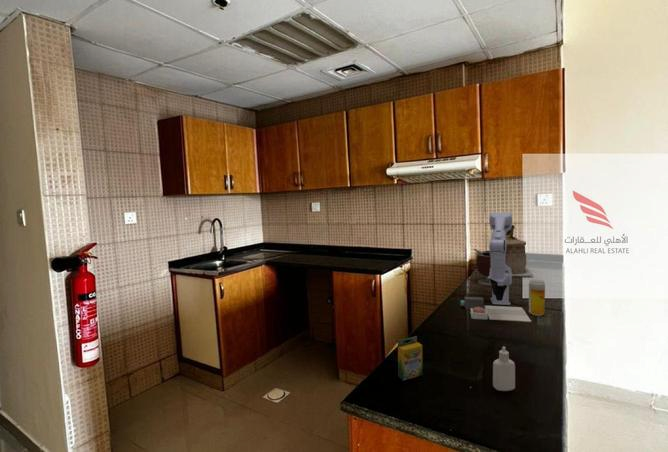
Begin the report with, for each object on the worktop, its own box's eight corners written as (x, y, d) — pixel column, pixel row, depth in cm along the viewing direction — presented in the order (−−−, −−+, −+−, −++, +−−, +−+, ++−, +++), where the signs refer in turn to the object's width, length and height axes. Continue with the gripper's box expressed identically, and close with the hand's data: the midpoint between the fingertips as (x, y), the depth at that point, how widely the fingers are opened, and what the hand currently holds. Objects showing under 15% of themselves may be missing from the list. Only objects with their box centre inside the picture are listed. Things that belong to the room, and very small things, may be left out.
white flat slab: (484, 306, 168) (484, 305, 168) (521, 307, 164) (521, 307, 164) (489, 319, 151) (489, 318, 151) (531, 321, 147) (531, 321, 147)
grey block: (460, 306, 170) (460, 296, 169) (482, 307, 167) (482, 297, 166) (460, 309, 166) (460, 298, 166) (483, 310, 163) (483, 299, 163)
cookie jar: (526, 269, 238) (527, 222, 235) (534, 278, 215) (535, 226, 212) (487, 268, 246) (487, 222, 243) (490, 276, 223) (490, 226, 220)
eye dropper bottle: (493, 382, 103) (493, 342, 102) (514, 385, 101) (514, 345, 99) (492, 389, 99) (492, 348, 98) (515, 394, 97) (515, 352, 95)
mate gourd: (503, 280, 211) (503, 248, 210) (500, 286, 200) (500, 251, 198) (476, 278, 220) (475, 246, 218) (471, 283, 208) (471, 250, 206)
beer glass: (546, 316, 152) (547, 282, 150) (531, 316, 153) (531, 282, 151) (541, 311, 158) (541, 279, 156) (526, 311, 159) (526, 279, 157)
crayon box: (403, 381, 106) (402, 344, 104) (397, 376, 108) (396, 340, 107) (423, 375, 108) (422, 339, 107) (417, 371, 111) (416, 335, 110)
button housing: (470, 313, 159) (470, 308, 159) (485, 314, 157) (485, 309, 157) (471, 318, 153) (471, 313, 153) (487, 319, 151) (487, 313, 151)
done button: (473, 311, 158) (473, 306, 157) (482, 311, 156) (482, 307, 156) (474, 314, 154) (474, 309, 154) (483, 314, 153) (483, 309, 153)
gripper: (485, 263, 160) (485, 292, 161) (490, 270, 146) (490, 302, 147) (502, 263, 158) (502, 292, 159) (508, 270, 144) (508, 303, 145)
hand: (497, 297), depth 153 cm, fingers open, 7 cm apart
